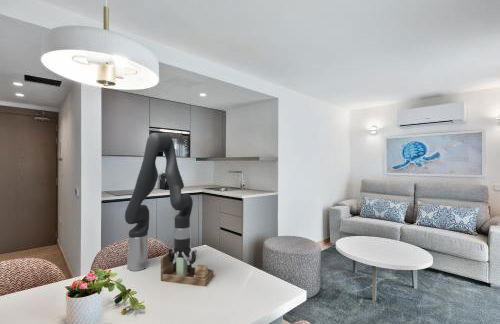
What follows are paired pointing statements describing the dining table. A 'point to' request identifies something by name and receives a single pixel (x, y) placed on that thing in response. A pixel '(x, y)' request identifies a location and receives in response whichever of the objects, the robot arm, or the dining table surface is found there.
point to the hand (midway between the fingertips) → (182, 271)
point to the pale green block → (181, 267)
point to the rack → (171, 276)
